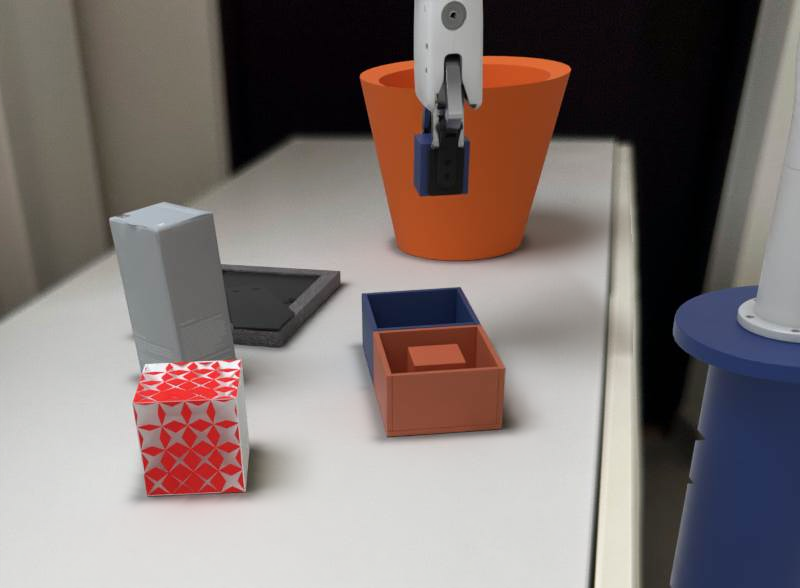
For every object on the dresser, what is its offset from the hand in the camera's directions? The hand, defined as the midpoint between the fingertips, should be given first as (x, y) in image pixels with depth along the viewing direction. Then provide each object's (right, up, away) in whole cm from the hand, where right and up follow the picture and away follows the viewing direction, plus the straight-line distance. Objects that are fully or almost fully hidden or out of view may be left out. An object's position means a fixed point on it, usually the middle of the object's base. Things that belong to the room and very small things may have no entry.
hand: (440, 185), depth 99 cm
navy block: (0, 0, 0) cm, 0 cm away
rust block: (-1, -21, -3) cm, 21 cm away
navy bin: (-2, -15, +6) cm, 16 cm away
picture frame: (-20, -5, +21) cm, 29 cm away
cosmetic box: (-25, -17, +5) cm, 30 cm away
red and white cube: (-21, -29, -11) cm, 38 cm away
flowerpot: (+7, +9, +39) cm, 40 cm away
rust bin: (-1, -22, -3) cm, 22 cm away
